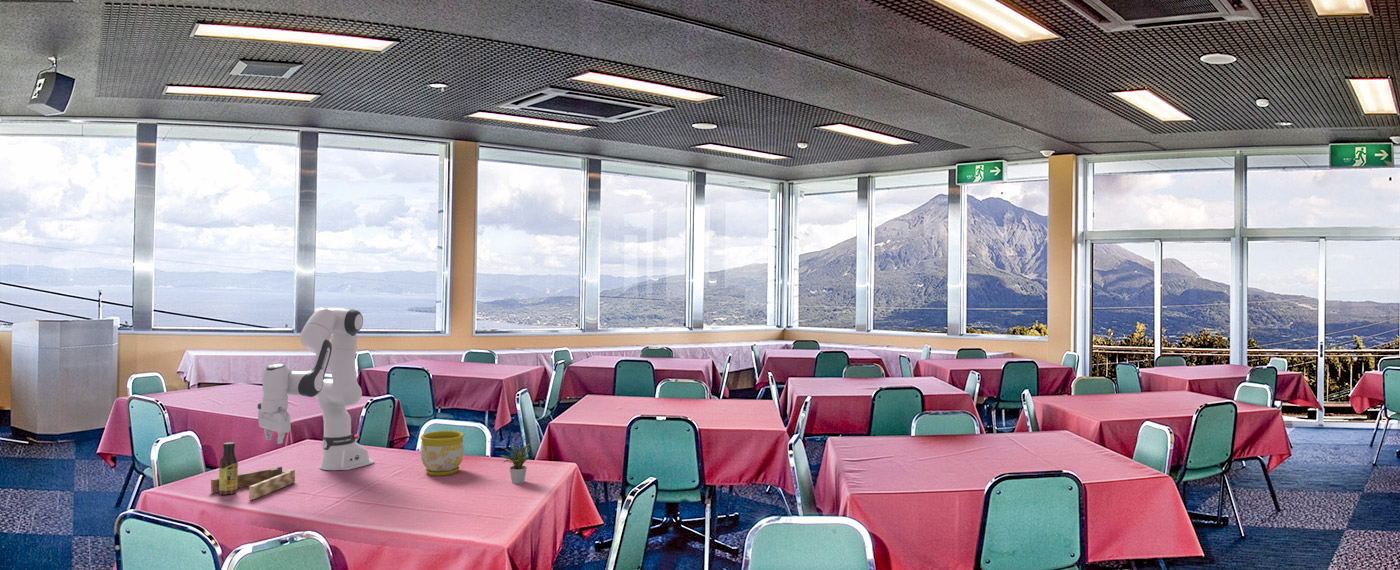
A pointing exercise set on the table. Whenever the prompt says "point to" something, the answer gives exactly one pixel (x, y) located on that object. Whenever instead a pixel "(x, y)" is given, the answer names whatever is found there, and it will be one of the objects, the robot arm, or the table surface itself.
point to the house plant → (517, 464)
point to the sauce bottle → (228, 470)
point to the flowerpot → (442, 452)
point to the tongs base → (250, 478)
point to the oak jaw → (272, 484)
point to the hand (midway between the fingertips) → (274, 441)
